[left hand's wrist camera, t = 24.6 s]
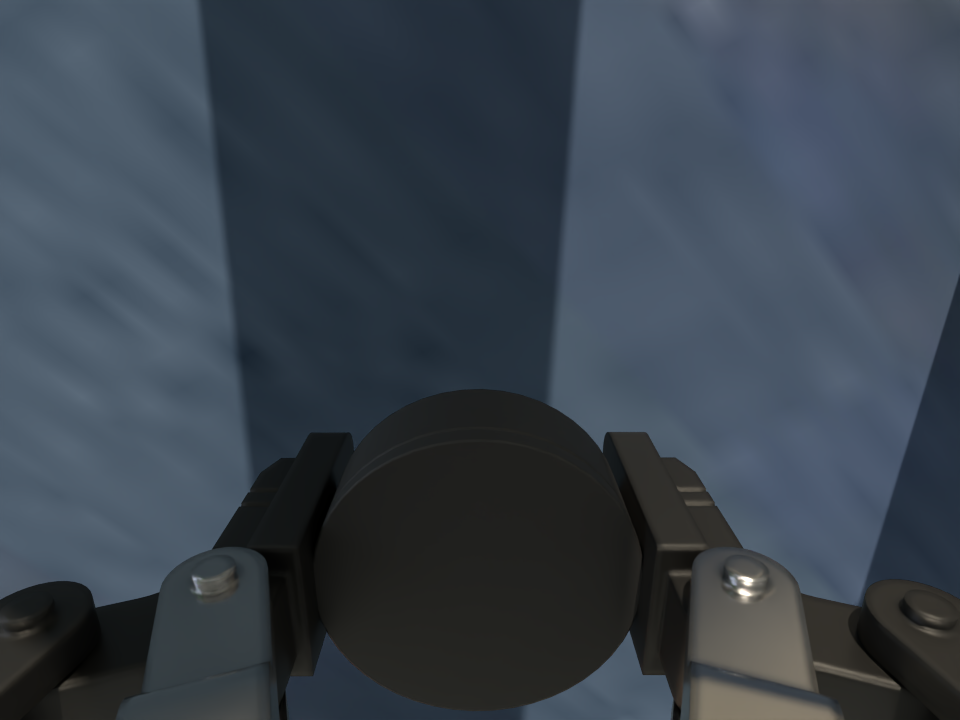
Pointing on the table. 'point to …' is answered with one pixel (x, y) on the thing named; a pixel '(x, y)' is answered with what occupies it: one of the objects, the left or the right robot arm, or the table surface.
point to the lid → (477, 553)
